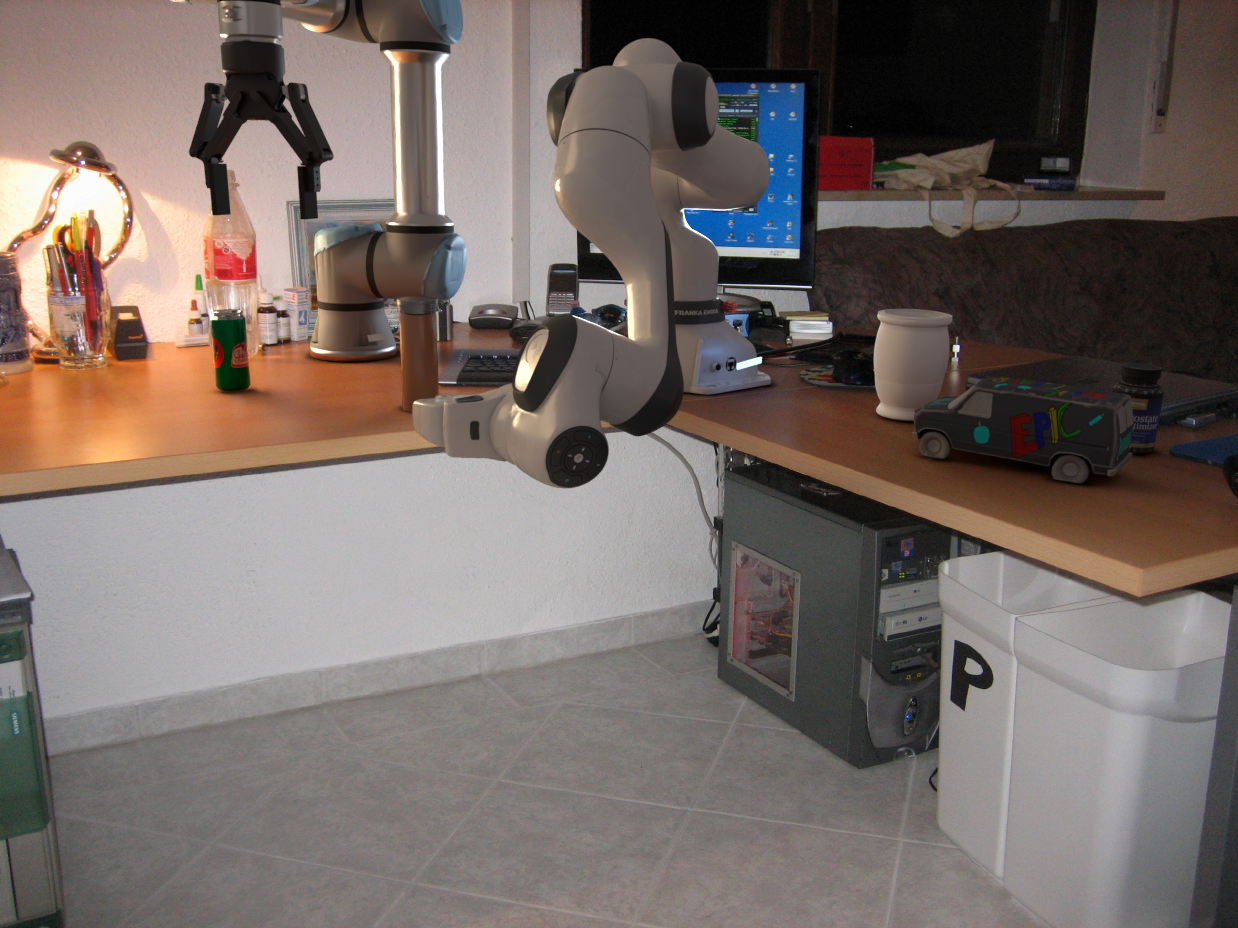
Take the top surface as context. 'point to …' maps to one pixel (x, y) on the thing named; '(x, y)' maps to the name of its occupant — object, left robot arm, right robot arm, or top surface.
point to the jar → (910, 360)
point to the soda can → (230, 350)
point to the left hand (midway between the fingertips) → (264, 217)
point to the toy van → (1032, 426)
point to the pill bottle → (1142, 402)
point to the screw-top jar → (418, 357)
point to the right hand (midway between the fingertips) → (476, 398)
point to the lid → (417, 305)
